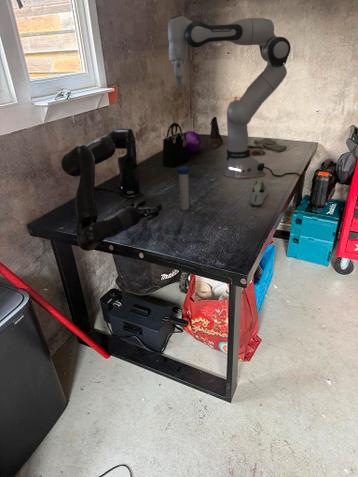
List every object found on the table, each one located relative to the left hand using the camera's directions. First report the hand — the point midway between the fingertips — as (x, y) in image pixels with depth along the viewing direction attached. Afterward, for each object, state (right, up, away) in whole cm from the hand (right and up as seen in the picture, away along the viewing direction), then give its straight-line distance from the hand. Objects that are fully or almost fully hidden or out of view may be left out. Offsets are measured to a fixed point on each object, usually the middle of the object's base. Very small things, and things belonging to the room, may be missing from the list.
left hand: (152, 204), depth 134 cm
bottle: (+14, 0, +20) cm, 25 cm away
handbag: (+9, +36, +82) cm, 90 cm away
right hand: (+11, +64, +34) cm, 73 cm away
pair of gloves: (+67, +49, +98) cm, 128 cm away
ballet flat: (+49, +6, +27) cm, 57 cm away
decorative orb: (+19, +47, +100) cm, 112 cm away
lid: (+13, +17, +11) cm, 24 cm away
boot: (+39, +58, +117) cm, 136 cm away
